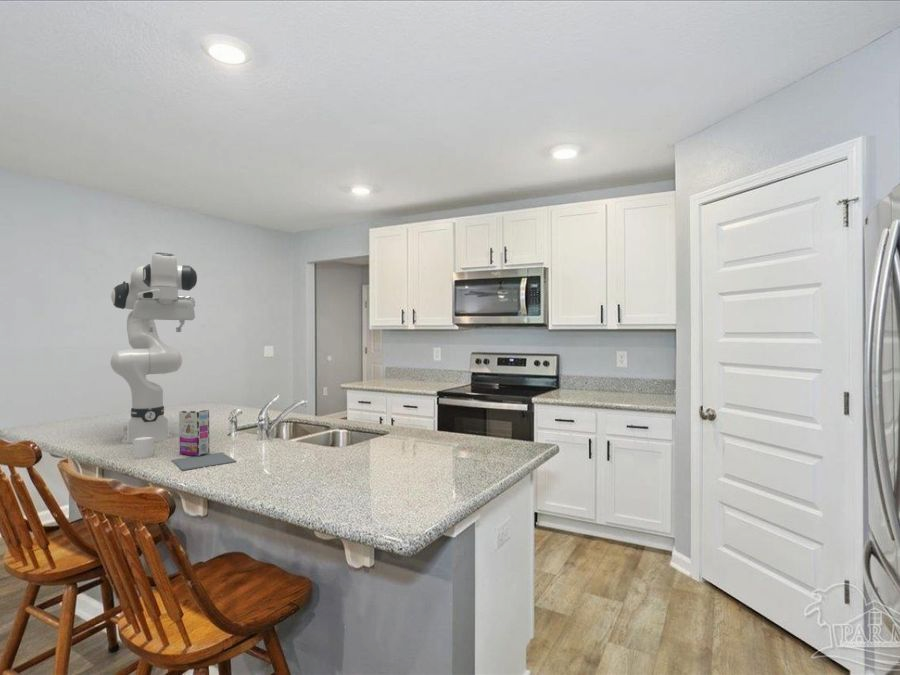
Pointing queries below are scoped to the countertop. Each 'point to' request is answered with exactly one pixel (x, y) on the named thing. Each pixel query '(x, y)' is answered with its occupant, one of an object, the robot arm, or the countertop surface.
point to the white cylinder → (143, 447)
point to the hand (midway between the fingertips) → (164, 332)
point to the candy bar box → (194, 432)
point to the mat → (202, 461)
